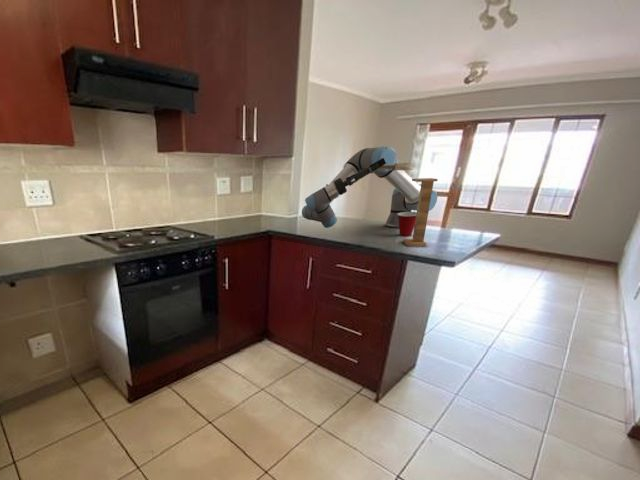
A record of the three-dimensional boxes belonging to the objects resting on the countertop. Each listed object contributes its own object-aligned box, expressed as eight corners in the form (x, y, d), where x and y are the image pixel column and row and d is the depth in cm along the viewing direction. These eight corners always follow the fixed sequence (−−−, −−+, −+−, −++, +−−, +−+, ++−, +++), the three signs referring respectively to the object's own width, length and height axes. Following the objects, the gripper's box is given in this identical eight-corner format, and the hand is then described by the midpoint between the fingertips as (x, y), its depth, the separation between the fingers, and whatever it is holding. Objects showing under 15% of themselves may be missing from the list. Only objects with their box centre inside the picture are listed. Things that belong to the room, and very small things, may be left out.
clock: (365, 171, 159) (365, 164, 158) (410, 169, 155) (411, 162, 154) (367, 171, 152) (368, 164, 151) (415, 169, 148) (416, 162, 147)
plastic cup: (389, 234, 185) (392, 212, 181) (403, 232, 189) (407, 211, 185) (406, 238, 176) (409, 214, 171) (420, 235, 180) (424, 212, 176)
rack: (402, 241, 168) (412, 178, 157) (419, 241, 166) (430, 178, 155) (407, 246, 159) (417, 179, 148) (426, 246, 157) (437, 178, 146)
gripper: (333, 182, 153) (383, 152, 145) (331, 181, 167) (377, 153, 158) (340, 197, 155) (391, 168, 146) (338, 194, 168) (384, 168, 160)
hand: (384, 160), depth 152 cm, fingers closed on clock, 2 cm apart
